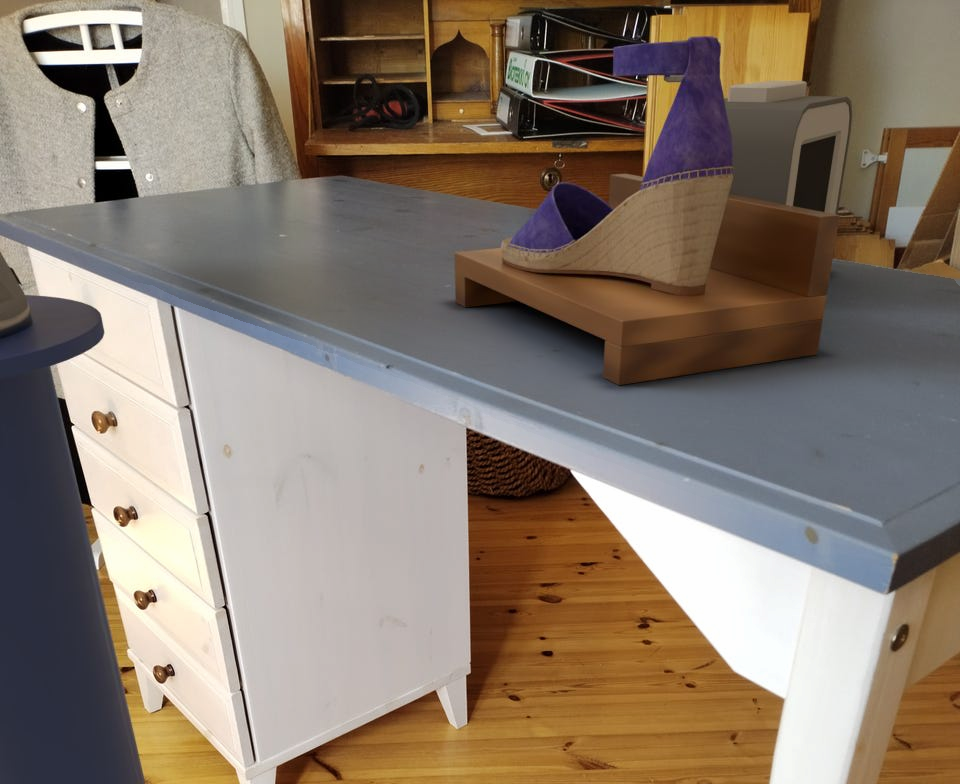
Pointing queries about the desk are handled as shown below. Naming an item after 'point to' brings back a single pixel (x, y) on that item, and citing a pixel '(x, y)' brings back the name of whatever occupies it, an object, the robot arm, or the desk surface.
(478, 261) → the shoe rack
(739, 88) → the alarm clock
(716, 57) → the sandal
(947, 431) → the desk surface
